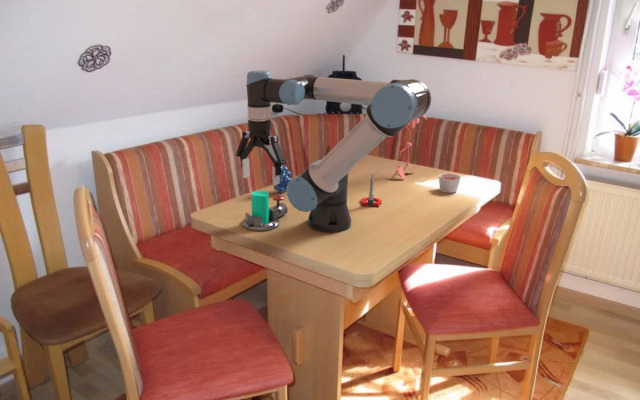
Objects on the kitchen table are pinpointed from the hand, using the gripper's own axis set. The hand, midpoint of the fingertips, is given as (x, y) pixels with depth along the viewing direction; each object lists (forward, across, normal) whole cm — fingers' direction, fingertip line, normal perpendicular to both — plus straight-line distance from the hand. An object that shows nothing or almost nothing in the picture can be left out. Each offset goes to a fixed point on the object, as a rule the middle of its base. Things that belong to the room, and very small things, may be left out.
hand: (261, 180), depth 187 cm
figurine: (+17, -16, -85) cm, 88 cm away
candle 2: (+17, -36, -78) cm, 88 cm away
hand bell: (+16, +12, -57) cm, 60 cm away
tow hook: (+17, -18, -44) cm, 51 cm away
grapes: (+16, +16, -31) cm, 38 cm away
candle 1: (+15, +1, 0) cm, 15 cm away
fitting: (+16, +1, -3) cm, 16 cm away
